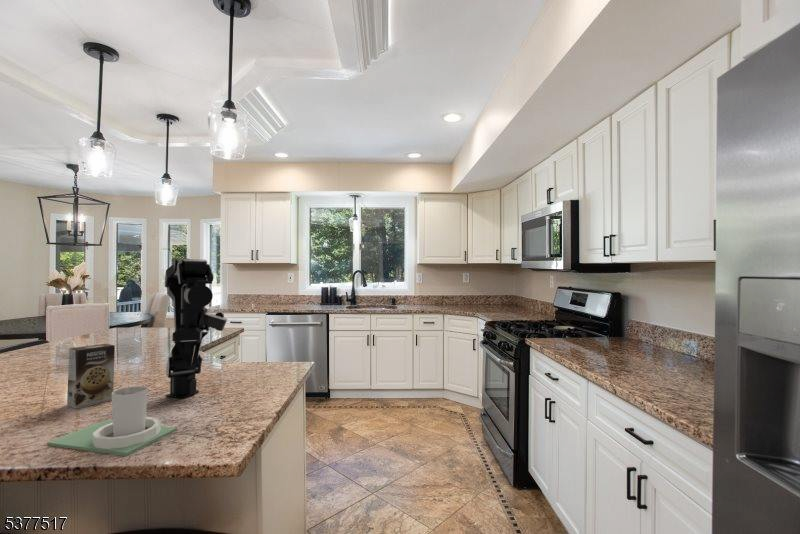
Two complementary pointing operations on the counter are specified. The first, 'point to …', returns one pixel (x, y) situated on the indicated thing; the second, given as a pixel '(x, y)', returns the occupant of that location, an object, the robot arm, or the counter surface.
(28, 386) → the counter surface
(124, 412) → the white coffee cup
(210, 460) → the counter surface
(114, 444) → the practice green
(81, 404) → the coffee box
